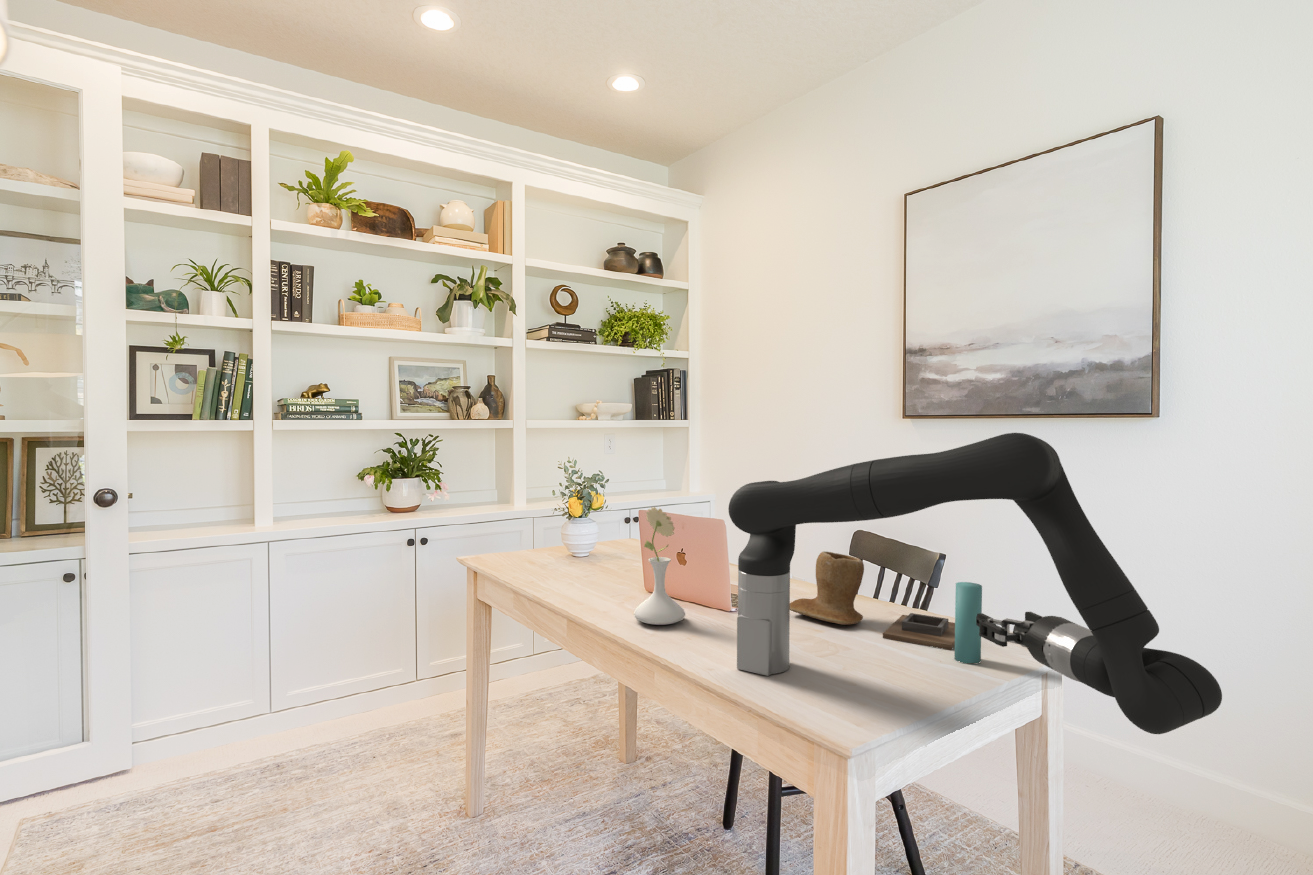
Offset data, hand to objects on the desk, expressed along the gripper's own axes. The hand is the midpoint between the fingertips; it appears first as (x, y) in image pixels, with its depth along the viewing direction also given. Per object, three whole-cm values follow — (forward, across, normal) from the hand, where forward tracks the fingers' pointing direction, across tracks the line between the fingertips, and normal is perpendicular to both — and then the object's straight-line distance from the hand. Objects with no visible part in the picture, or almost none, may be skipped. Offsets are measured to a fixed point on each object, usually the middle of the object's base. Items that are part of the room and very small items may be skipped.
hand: (1002, 618), depth 113 cm
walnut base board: (+26, 0, +10) cm, 28 cm away
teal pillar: (+10, 0, +11) cm, 15 cm away
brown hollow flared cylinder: (+38, +17, +10) cm, 43 cm away
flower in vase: (+40, +55, +10) cm, 69 cm away
